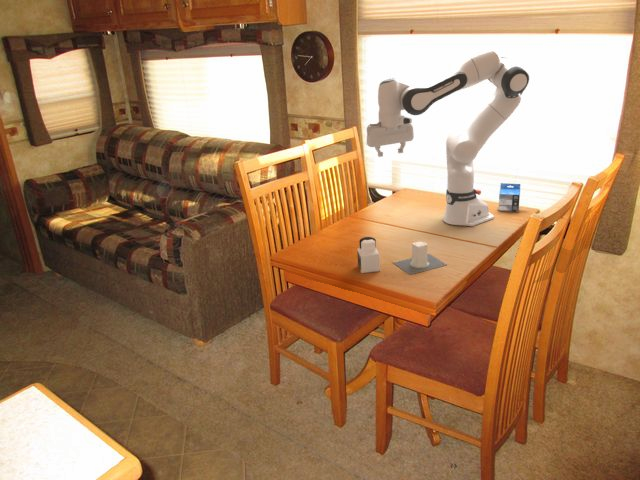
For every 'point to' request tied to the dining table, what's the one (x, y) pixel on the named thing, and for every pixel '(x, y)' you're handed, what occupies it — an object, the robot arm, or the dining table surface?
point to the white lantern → (368, 255)
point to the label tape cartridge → (509, 197)
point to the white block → (419, 253)
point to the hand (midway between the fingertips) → (390, 154)
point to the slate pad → (412, 268)
